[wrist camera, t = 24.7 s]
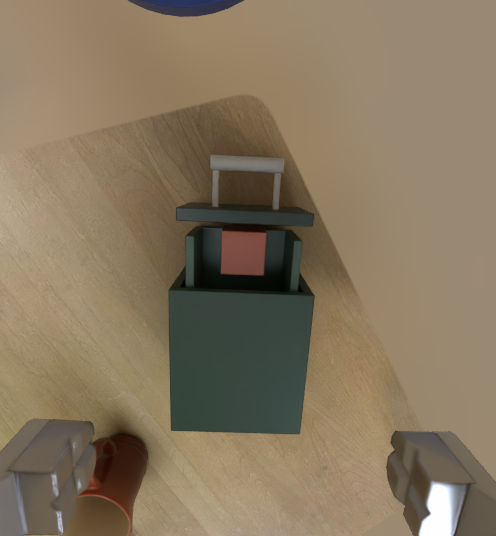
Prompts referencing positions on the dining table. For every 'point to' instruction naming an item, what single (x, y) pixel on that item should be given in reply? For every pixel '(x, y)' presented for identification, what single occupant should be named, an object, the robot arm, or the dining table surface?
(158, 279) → the dining table surface
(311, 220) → the drawer
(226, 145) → the dining table surface
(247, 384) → the cabinet
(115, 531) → the mug
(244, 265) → the block
